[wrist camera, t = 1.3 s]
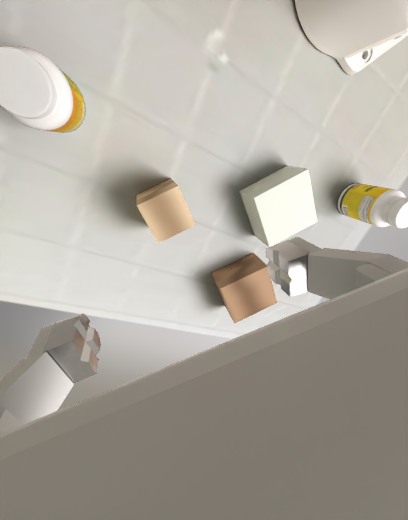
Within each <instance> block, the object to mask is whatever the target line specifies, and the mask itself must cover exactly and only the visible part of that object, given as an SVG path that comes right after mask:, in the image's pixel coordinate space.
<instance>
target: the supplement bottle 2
mask: <svg viewBox="0 0 408 520" xmlns="http://www.w3.org/2000/svg"><path fill="white" fill-rule="evenodd" d="M338 209H339V211H340V213H341V214H343V215H345V216H348V217H351V218H354V219H357V220H360V221H363V222H366V223H369V224H372V225H375V226H379V227H386V226H389V225H392V226H394V227H398V228H405V227H407V226H408V198H406V197H405V195H404V194H403V193H402V192H400V191H398V190H394V189H388V188H382V187H377V186H371V185H365V184H358V183H356V184H352V185H350V186H348V187H347V188H346V189H345V190H344V191H343V192H342V193H341V195H340V197H339V200H338Z"/></svg>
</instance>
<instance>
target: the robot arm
mask: <svg viewBox="0 0 408 520" xmlns="http://www.w3.org/2000/svg"><path fill="white" fill-rule="evenodd" d="M295 5H296V10H297V14H298V17H299V20H300V23H301V26H302V28H303V30H304V32H305V34H306V36H307V37H308V39H309V40H310V41H311V43H312V44H313V45H314V46H315V47H316V48H317V49H319V50H320V51H322V52H323V53H325V54H328V55H330V56H332V57H334V58H335V59H336V60H337V61H338V62H339V64H340V66H341V67H342V68H343V70H344V71H345V72H346V73H347V74H349V75H351V74H354V73H356V72H358V71H360V70H362V69H363V68H364V67H366V66H367V65H368V64H370V63H371V62H372V61H374V60H375V59H376V58H378V57H379V56H380V55H382V54H383V53H384V52H386V51H387V50H388V49H390V48H391V47H392V46H394V45H395V44H396V43H398V42H399V41H400V40H402V39H403V38H404V37H406V36H407V35H408V0H295ZM362 55H363V58H362ZM266 257H267V258H268V259H269V262H268V264H267V269H268V273H269V275H270V278H271V279H272V280H273V281H274V282H275V283H276V284H280V285H281V289H282V290H283V291H284V292H285V293H286V294H287V295H288V296H290V297H292V296H295V295H297V294H300V293H303V292H306V291H308V292H311V293H314V294H317V295H319V296H322V297H325V298H328V299H330V300H328V301H325V302H323V303H321V304H318V305H316V306H313V307H311V308H308V309H306V310H303V311H301V312H298V313H296V314H294V315H291V316H289V317H286V318H284V319H281V320H279V321H276V322H274V323H271V324H269V325H267V326H264V327H262V328H259V329H257V330H254V331H252V332H249V333H247V334H245V335H242V336H240V337H237V338H235V339H232V340H230V341H228V342H225V343H223V344H220V345H218V346H215V347H213V348H211V349H208V350H206V351H203V352H200V353H198V354H196V355H193V356H191V357H188V358H186V359H183V360H181V361H178V362H176V363H173V364H171V365H169V366H166V367H164V368H161V369H159V370H156V371H154V372H151V373H149V374H146V375H144V376H142V377H139V378H137V379H134V380H132V381H129V382H127V383H125V384H122V385H120V386H117V387H115V388H112V389H110V390H107V391H105V392H102V393H100V394H98V395H95V396H93V397H90V398H88V399H85V400H83V401H81V402H78V403H75V404H73V405H70V406H68V407H66V408H63V409H61V410H58V408H59V407H60V405H61V404H62V402H63V400H64V399H65V397H66V396H67V394H68V393H69V391H70V390H71V388H72V386H73V385H74V384H73V383H76V382H78V381H80V380H83V379H85V378H87V377H90V376H92V375H94V374H96V373H97V366H98V360H99V359H98V358H97V356H96V355H97V354H98V352H99V351H100V345H101V344H100V338H99V335H98V333H97V331H96V330H95V329H94V328H92V327H90V326H89V322H90V320H89V319H88V318H87V316H86V315H85V314H80V315H77V316H74V317H71V318H68V319H65V320H62V321H59V322H55V323H53V324H50V325H47V326H45V327H43V328H41V330H40V332H39V334H38V336H37V338H36V340H35V342H34V344H33V346H32V348H31V350H30V352H29V354H28V356H27V358H26V359H24V360H22V361H20V362H19V363H18V364H17V365H16V366H15V367H14V368H13V369H12V370H11V371H9V372H8V373H7V374H6V375H5V376H4V377H3V378H2V379H1V380H0V520H408V262H406V261H403V260H401V259H399V258H396V257H394V256H392V255H389V254H380V253H370V252H360V251H349V250H339V249H329V248H324V249H320V248H319V247H317V246H315V245H313V244H311V243H309V242H307V241H305V240H303V239H301V238H300V237H294V238H292V239H289V240H287V241H284V242H282V243H279V244H277V245H274V246H271V247H269V248H266ZM57 410H58V411H57Z"/></svg>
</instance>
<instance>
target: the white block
mask: <svg viewBox="0 0 408 520" xmlns="http://www.w3.org/2000/svg"><path fill="white" fill-rule="evenodd" d="M239 192H240V194H241V197H242V200H243V203H244V206H245V209H246V212H247V215H248V218H249V220H250V223H251V226H252V229H253V232H254V235H255V236H256V237H257V238H258V239H259V240H261V241H262V242H263V243H265V244H266V245H267V246H268V247H271V246H273V245H275V244H277V243H279V242H281V241H282V240H284V239H286V238H288V237H290V236H292V235H294V234H295V233H297V232H299V231H301V230H303V229H305V228H307V227H308V226H310V225H312V224H314V223H316V222H317V217H316V211H315V205H314V199H313V193H312V187H311V181H310V175H309V169H305V168H299V167H293V166H286V167H284V168H282V169H280V170H278V171H276V172H274V173H272V174H271V175H269V176H267V177H265V178H263V179H261V180H259V181H257V182H255V183H254V184H252V185H250V186H248V187H246V188H244V189H242V190H240V191H239Z"/></svg>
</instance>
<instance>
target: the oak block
mask: <svg viewBox="0 0 408 520" xmlns="http://www.w3.org/2000/svg"><path fill="white" fill-rule="evenodd" d="M136 200H137V207H138V209H139V211H140V212H141V214H142V216H143V218H144V219H145V221H146V223H147V225H148V227H149V228H150V230H151V232H152V234H153V235H154V237H155V239H156V241H157V242H158V243H160V242H162V241H164V240H166V239H168V238H170V237H172V236H174V235H176V234H178V233H180V232H182V231H184V230H186V229H188V228H190V227H193V226H195V223H194V221H193V218H192V216H191V214H190V212H189V209H188V207H187V205H186V203H185V200H184V198H183V196H182V194H181V191H180V189H179V187H178V185H177V184H176V183H175V182H174V181H173V180H172V179H171V178H170V179H168V180H166V181H164V182H162V183H160V184H158V185H156V186H154V187H152V188H149V189H147V190H145V191H143V192H141V193H139V194H137V195H136Z"/></svg>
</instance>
